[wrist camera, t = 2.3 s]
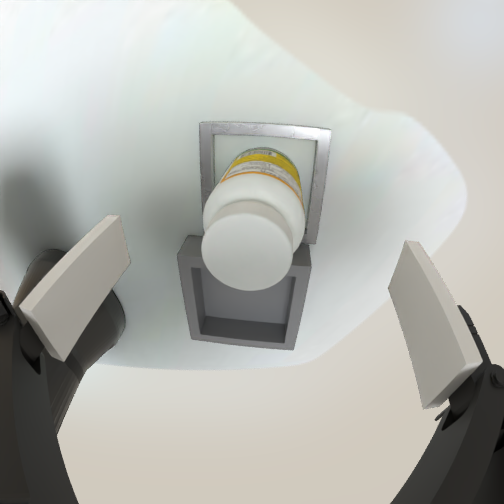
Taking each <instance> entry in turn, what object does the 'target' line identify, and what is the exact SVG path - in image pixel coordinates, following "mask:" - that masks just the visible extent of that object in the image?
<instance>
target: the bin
mask: <svg viewBox="0 0 504 504" xmlns="http://www.w3.org/2000/svg"><path fill="white" fill-rule="evenodd" d="M202 240H203V236H190V235H188V237H187V239H186V240H185V242H184V244H183V245H182V247H181V249H180V251H179V252H178V254H177V259H178V266H179V273H180V279H181V285H182V291H183V297H184V303H185V308H186V314H187V319H188V324H189V330H190V335H191V339H193V340H200V341H207V342H214V343H222V344H230V345H238V346H248V347H258V348H269V349H282V350H294V347H295V342H296V338H297V334H298V329H299V325H300V321H301V316H302V311H303V307H304V302H305V297H306V292H307V288H308V283H309V277H310V272H311V258H310V250H309V245H303V244H300V245H299V247H298V248H297V249H296V251H295V252H294V253H293V259H292V263H291V266H290V269H289V271H288V272H287V274H286V275H285V276H284V278H283V279H282V280H281V281H279V282H278V283H276V284H275V285H273V286H271V287H269V288H266V289H262V290H256V291H244V290H239V289H235V288H233V287H230V286H228V285H225V284H224V283H222V282H221V281H219V280H218V279H216V278H215V277H214V276H213V275H212V274H211V273H210V271H209V270H208V269H207V267H206V265H205V263H204V261H203V257H202V252H201V246H202Z"/></svg>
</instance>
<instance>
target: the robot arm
mask: <svg viewBox="0 0 504 504" xmlns="http://www.w3.org/2000/svg"><path fill="white" fill-rule="evenodd" d="M130 263H131V262H130V258H129V253H128V249H127V245H126V241H125V236H124V232H123V227H122V222H121V217H120V215H107V216H106V217H105V218H104V219H103V220H101V221H100V222H99V223H98V224H97V225H96V226H95V227H94V228H93V229H92V230H90V231H89V232H88V233H87V234H86V235H85V236H84V237H83V238H82V239H81V240H80V241H79V242H78V243H77V244H76V245H75V246H74V247H73V248H72V249H71V250H70V251H69V252H68V253H66V252H63V251H59V250H46V251H44V252H42V253H41V254H40V255H39V256H38V257H37V258H36V259H35V260H34V261H33V262H32V263H31V264H30V265H29V267H28V269H27V272H26V275H25V277H24V279H23V281H22V283H21V285H20V287H19V290H18V292H17V295H16V297H15V300H14V303H13V305H11V303H10V301H9V300H8V298H7V296H6V294H5V293H4V291H1V290H0V504H79V503H78V501H77V498H76V496H75V493H74V491H73V488H72V485H71V483H70V480H69V477H68V474H67V471H66V468H65V464H64V461H63V458H62V454H61V451H60V447H59V443H58V439H57V434H58V431H59V429H60V427H61V424H62V422H63V419H64V417H65V414H66V412H67V410H68V408H69V405H70V403H71V401H72V399H73V396H74V394H75V392H76V390H77V388H78V386H79V383H80V381H81V379H82V377H83V376H84V374H85V372H86V370H87V369H88V368H90V367H91V366H92V365H93V364H94V363H95V362H96V361H97V360H98V359H99V358H100V357H101V356H102V355H103V354H104V353H105V352H106V351H107V350H109V349H111V348H112V347H113V346H114V345H115V344H116V343H117V341H118V340H119V338H120V336H121V334H122V332H123V330H124V327H125V317H124V313H123V310H122V307H121V305H120V303H119V301H118V299H117V298H116V296H115V294H114V293H113V291H112V290H111V289H112V288H113V286H114V285H115V284H116V282H117V281H118V279H119V278H120V277H121V275H122V274H123V273H124V271H125V270H126V269H127V267H128V266H129V265H130ZM388 290H389V293H390V295H391V298H392V301H393V304H394V307H395V310H396V312H397V315H398V318H399V321H400V324H401V328H402V331H403V334H404V337H405V340H406V344H407V347H408V351H409V354H410V358H411V361H412V365H413V369H414V372H415V377H416V380H417V384H418V389H419V393H420V398H421V402H422V407H423V409H428V408H434V407H439V406H440V405H442V404H443V402H445V401H446V400H447V399H449V402H450V405H449V406H448V407H447V408H446V409H445V410H444V411H443V412H441V413H440V414H439V415H438V416H437V417H436V419H435V421H437V420H438V419H440V418H441V417H442V416H443V417H442V419H441V421H440V423H439V425H438V427H437V429H436V431H435V434H434V435H433V437H432V439H431V441H430V443H429V445H428V446H427V448H426V450H425V452H424V454H423V455H422V457H421V459H420V460H419V462H418V464H417V465H416V467H415V469H414V470H413V472H412V474H411V475H410V477H409V478H408V480H407V481H406V483H405V484H404V486H403V487H402V488H401V490H400V491H399V493H398V494H397V495H396V497H395V498H394V499H393V501H392V502H391V503H390V504H504V369H503V368H502V367H501V366H499V365H496V364H491V361H490V359H489V357H488V354H487V352H486V350H485V348H484V345H483V343H482V341H481V339H480V337H479V335H477V330H476V328H475V327H474V326H473V325H474V324H473V322H472V320H471V318H470V316H469V314H468V313H467V312H466V311H465V310H464V309H463V308H462V307H461V306H460V305H456V303H455V301H454V299H453V297H452V295H451V294H450V292H449V290H448V288H447V286H446V285H445V283H444V281H443V279H442V278H441V276H440V274H439V273H438V271H437V269H436V268H435V266H434V264H433V263H432V261H431V260H430V258H429V256H428V255H427V253H426V252H425V250H424V249H423V247H422V246H421V244H420V243H419V242H414V241H406V240H405V243H404V246H403V249H402V252H401V255H400V258H399V260H398V263H397V266H396V269H395V271H394V274H393V277H392V279H391V282H390V284H389V287H388Z"/></svg>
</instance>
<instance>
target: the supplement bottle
mask: <svg viewBox="0 0 504 504" xmlns="http://www.w3.org/2000/svg"><path fill="white" fill-rule="evenodd" d="M203 228H204V232H205V234H204V236H203V240H202V246H201V252H202V257H203V261H204V263H205V265H206V267H207V269H208V270H209V271H210V273H211V274H212V275H213V276H214V277H215V278H216V279H218V280H219V281H221V282H222V283H224V284H225V285H228V286H230V287H233V288H235V289H239V290H244V291H256V290H262V289H266V288H269V287H271V286H273V285H275V284H276V283H278V282H279V281H281V280H282V279H283V278H284V276H285V275H286V274H287V272H288V271H289V269H290V266H291V263H292V259H293V253H294V252H295V251H296V249H297V248H298V247H299V245H300V243H301V241H302V238H303V235H304V231H305V213H304V206H303V199H302V192H301V186H300V179H299V175H298V171H297V169H296V167H295V165H294V164H293V162H292V161H291V160H290V159H289V158H288V157H287V156H285V155H284V154H283V153H281V152H279V151H277V150H274V149H270V148H254V149H250V150H247V151H245V152H243V153H241V154H240V155H239V156H237V157H236V158H235V159H234V160H233V162H232V163H231V165H230V166H229V167H228V169H227V170H226V172H225V174H224V175H223V177H222V178H221V180H220V181H219V183H218V184H217V186H216V187H215V189H214V190H213V191H212V193H211V194H210V196H209V198H208V200H207V202H206V204H205V208H204V212H203Z"/></svg>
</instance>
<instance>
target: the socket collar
mask: <svg viewBox="0 0 504 504" xmlns="http://www.w3.org/2000/svg"><path fill="white" fill-rule="evenodd" d="M214 134H233V135H259V136H275V137H288V138H299V139H309V140H317V145H316V155H315V164H314V173H313V182H312V190H311V198H310V206H309V213H308V221H307V228H306V229H305V231H304V235H303V238H302V241H301V243H306V244H316V239H317V234H318V228H319V221H320V215H321V209H322V202H323V195H324V188H325V181H326V174H327V166H328V158H329V149H330V140H331V130H330V129H325V128H317V127H308V126H299V125H288V124H274V123H256V122H201V123H199V136H200V171H201V194H202V213H203V212H204V208H205V204H206V202H207V200H208V198H209V196H210V194H211V193H212V191H213V190H214ZM203 230H204V228H203ZM204 234H205V232H204Z"/></svg>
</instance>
